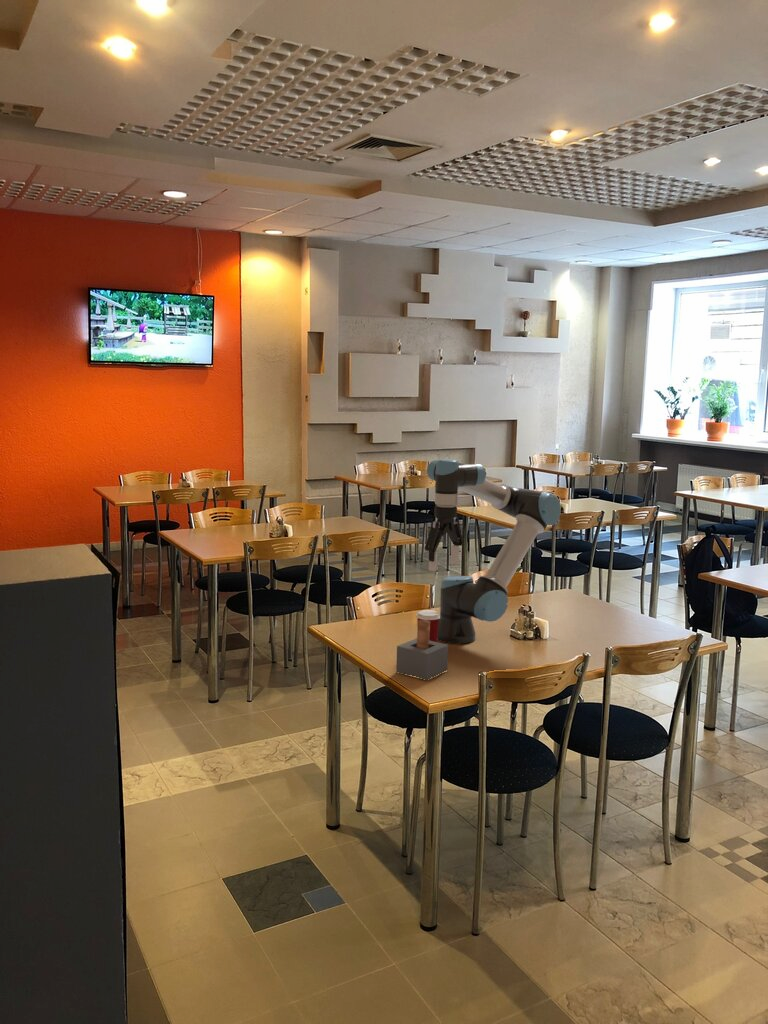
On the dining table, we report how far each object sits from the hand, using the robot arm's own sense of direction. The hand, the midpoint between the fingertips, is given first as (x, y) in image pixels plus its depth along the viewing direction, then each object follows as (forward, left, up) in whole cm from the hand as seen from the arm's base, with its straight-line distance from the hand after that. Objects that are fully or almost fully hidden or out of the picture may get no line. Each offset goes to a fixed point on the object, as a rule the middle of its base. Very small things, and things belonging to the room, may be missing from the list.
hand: (443, 567), depth 291 cm
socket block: (+17, +4, -32) cm, 36 cm away
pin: (+17, +4, -29) cm, 34 cm away
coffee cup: (+1, -5, -32) cm, 32 cm away
